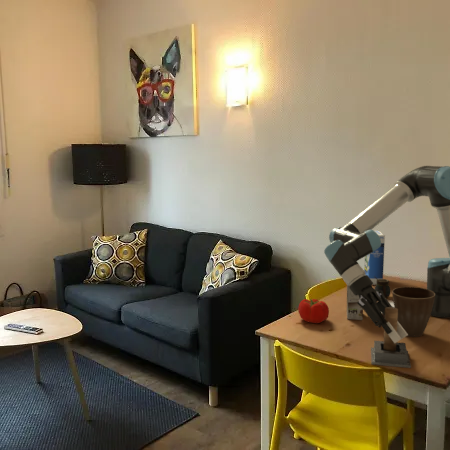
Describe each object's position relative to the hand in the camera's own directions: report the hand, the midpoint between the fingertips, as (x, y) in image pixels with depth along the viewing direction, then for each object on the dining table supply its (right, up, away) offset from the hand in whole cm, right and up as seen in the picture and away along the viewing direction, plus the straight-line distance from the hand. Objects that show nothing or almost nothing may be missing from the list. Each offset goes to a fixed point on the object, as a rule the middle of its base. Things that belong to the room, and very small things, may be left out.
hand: (401, 339), depth 160 cm
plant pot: (+13, -4, +25) cm, 29 cm away
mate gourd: (+16, +3, +71) cm, 73 cm away
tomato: (-21, -2, +41) cm, 46 cm away
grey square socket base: (-2, -7, +4) cm, 9 cm away
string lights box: (+20, +7, +97) cm, 99 cm away
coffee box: (-3, -1, +45) cm, 45 cm away
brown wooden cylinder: (-3, -4, +3) cm, 6 cm away
